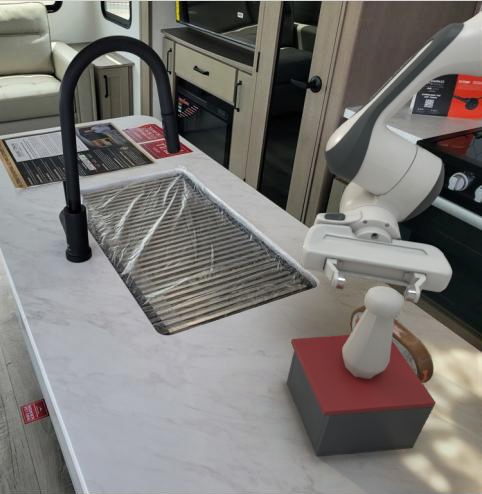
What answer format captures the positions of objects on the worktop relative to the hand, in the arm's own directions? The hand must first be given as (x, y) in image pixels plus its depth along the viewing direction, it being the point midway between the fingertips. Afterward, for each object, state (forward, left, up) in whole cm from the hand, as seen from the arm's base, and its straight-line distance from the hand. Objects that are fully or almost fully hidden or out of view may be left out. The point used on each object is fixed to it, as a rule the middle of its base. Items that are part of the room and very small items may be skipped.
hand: (375, 291), depth 65 cm
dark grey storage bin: (+2, +6, -18) cm, 19 cm away
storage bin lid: (+3, +6, -9) cm, 11 cm away
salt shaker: (+2, +6, -9) cm, 11 cm away
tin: (-8, -3, -18) cm, 20 cm away
